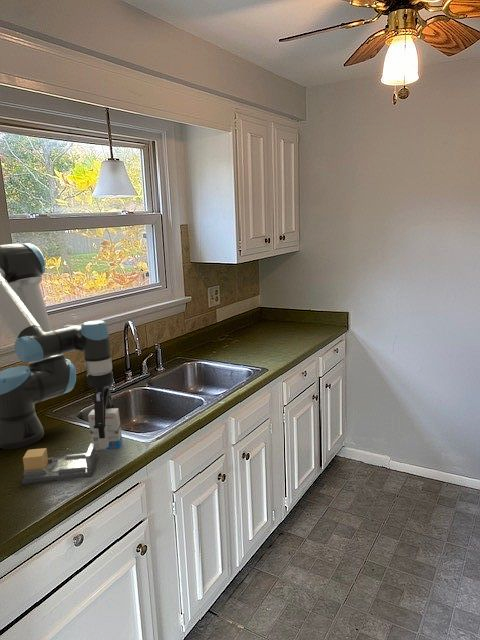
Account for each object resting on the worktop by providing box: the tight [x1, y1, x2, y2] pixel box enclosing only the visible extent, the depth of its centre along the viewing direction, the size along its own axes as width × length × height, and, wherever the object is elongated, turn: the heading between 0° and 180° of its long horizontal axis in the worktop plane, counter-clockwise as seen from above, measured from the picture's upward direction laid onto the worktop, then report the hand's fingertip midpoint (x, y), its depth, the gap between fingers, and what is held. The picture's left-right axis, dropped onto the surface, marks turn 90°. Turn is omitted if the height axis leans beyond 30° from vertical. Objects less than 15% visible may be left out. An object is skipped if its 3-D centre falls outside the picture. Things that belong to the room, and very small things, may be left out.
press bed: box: [21, 442, 100, 485], centre depth 137 cm, size 11×18×6 cm, turn 97°
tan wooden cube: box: [22, 447, 49, 471], centre depth 136 cm, size 5×5×4 cm
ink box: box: [87, 407, 123, 451], centre depth 150 cm, size 9×5×12 cm, turn 92°
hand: (107, 437), depth 150 cm, fingers open, 13 cm apart
